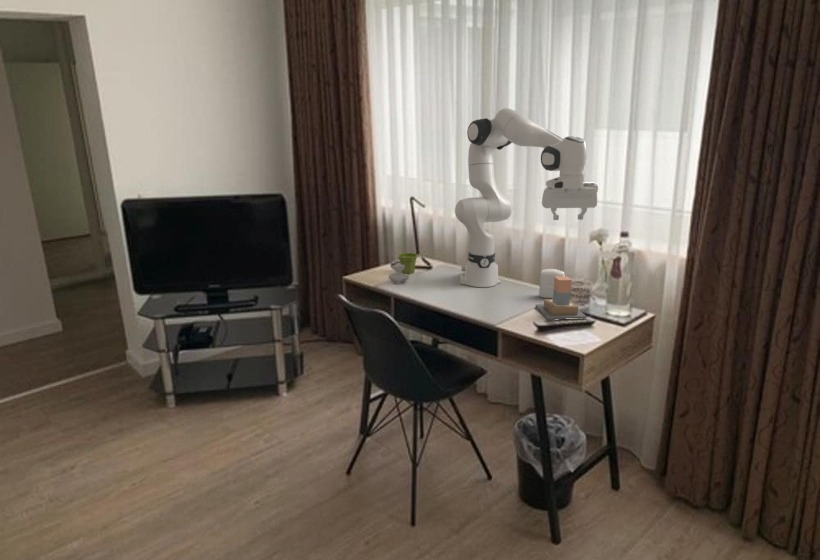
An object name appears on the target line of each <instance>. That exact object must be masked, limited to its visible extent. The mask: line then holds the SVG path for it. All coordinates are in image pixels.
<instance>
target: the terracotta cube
mask: <svg viewBox="0 0 820 560" xmlns="http://www.w3.org/2000/svg"><path fill="white" fill-rule="evenodd" d="M554 290H555V291H556V292H558V293H568V292H571V290H572V279H571V278H570V277H569V276H567V275H565V276H556V277H554Z"/></svg>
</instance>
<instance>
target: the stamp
mask: <svg viewBox="0 0 820 560" xmlns="http://www.w3.org/2000/svg"><path fill="white" fill-rule="evenodd" d="M391 268H392V270H393V271H395V272H394V273H392V274H391V273H390V274H388V279H389V280H390V282H391V283H394V284H397V285H400V284H403V283H406V282H407V280H408V279H409V278H410V276H409V274H403V273H402V272H401V271H402V270H404V268H405V265H401V264H400V263H396V264H393V265H392V266H391Z"/></svg>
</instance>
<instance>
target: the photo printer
mask: <svg viewBox="0 0 820 560" xmlns="http://www.w3.org/2000/svg"><path fill="white" fill-rule="evenodd" d="M539 276H540V277H539V291H538V297H539V298H544V299H553V289H554V277H556V276H566V274H565V272H564V271H562V270H559V269H555V268H545V269H542V270H541V273H540V275H539Z"/></svg>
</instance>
